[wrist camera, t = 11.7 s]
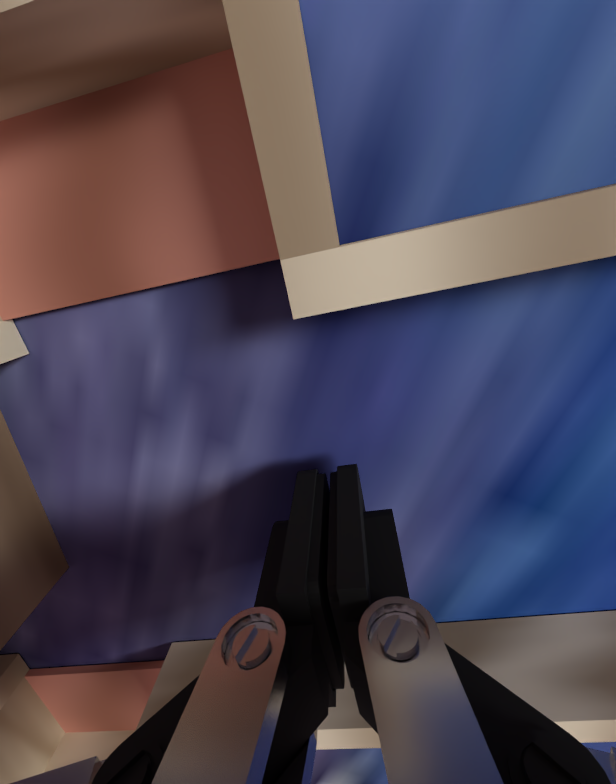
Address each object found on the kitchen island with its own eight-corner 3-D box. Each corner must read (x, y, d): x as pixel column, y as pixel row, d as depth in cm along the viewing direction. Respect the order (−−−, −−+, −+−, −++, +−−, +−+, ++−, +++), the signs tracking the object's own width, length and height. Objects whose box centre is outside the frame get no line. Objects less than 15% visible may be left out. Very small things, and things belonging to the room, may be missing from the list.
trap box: (856, -224, 6) (1341, -657, 3) (660, 717, 14) (739, 833, 11) (-459, 223, 10) (-759, 215, 7) (-11, 740, 19) (-72, 828, 16)
